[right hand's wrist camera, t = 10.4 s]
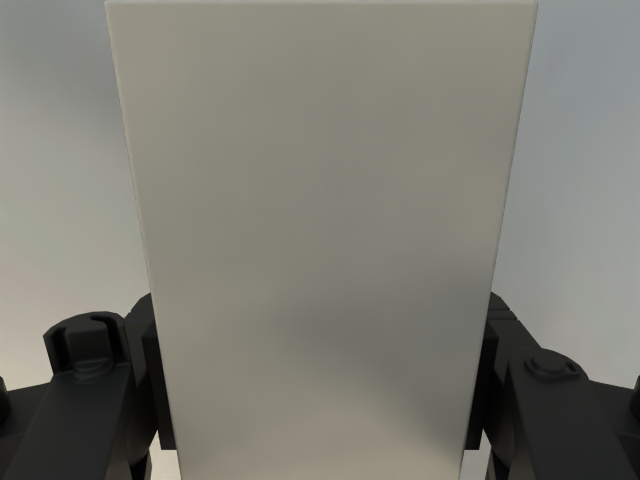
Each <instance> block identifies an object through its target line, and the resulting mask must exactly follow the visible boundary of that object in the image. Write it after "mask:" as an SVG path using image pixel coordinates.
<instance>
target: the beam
mask: <svg viewBox="0 0 640 480" xmlns="http://www.w3.org/2000/svg"><path fill="white" fill-rule="evenodd" d="M104 8H105V14H106V20H107V26H108V32H109V38H110V44H111V51H112V57H113V63H114V69H115V75H116V81H117V87H118V94H119V100H120V106H121V112H122V118H123V124H124V130H125V137H126V143H127V149H128V155H129V161H130V167H131V173H132V179H133V186H134V192H135V198H136V204H137V210H138V216H139V222H140V229H141V235H142V241H143V247H144V253H145V259H146V265H147V272H148V278H149V284H150V290H151V296H152V302H153V308H154V315H155V321H156V327H157V333H158V339H159V345H160V351H161V358H162V364H163V370H164V376H165V382H166V388H167V394H168V400H169V407H170V413H171V419H172V425H173V431H174V437H175V443H176V450H177V456H178V462H179V468H180V474H181V480H459V479H460V473H461V467H462V461H463V455H464V449H465V443H466V437H467V430H468V424H469V418H470V412H471V406H472V400H473V394H474V388H475V382H476V376H477V370H478V364H479V358H480V352H481V346H482V340H483V334H484V328H485V322H486V316H487V310H488V304H489V298H490V292H491V286H492V280H493V274H494V268H495V262H496V256H497V250H498V244H499V238H500V232H501V226H502V220H503V214H504V208H505V202H506V196H507V190H508V184H509V178H510V172H511V166H512V160H513V154H514V148H515V142H516V136H517V130H518V124H519V118H520V112H521V106H522V100H523V94H524V88H525V82H526V76H527V70H528V64H529V58H530V52H531V46H532V40H533V34H534V28H535V22H536V16H537V10H538V2H537V1H536V0H105V3H104Z"/></svg>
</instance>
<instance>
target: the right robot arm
mask: <svg viewBox="0 0 640 480" xmlns="http://www.w3.org/2000/svg"><path fill="white" fill-rule="evenodd" d="M43 338H44V342H45V346H46V349H47V353H48V356H49V360H50V364H51V367H52V371H53V374H54V375H53V377H52V379H51V381H50V382H49V383H45V384H41V385H36V386H31V387H26V388H21V389H16V390H11V391H7V389H6V386H5V383H4V380H3V378H2V377H1V376H0V480H150V479H151V470H152V463H151V456H150V451H149V447H150V445H151V443H152V440H153V438H154V436H155V434H156V432H157V429H158V435H159V440H160V446H161V450H176V443H175V437H174V431H173V425H172V419H171V413H170V407H169V400H168V394H167V388H166V382H165V376H164V370H163V364H162V358H161V351H160V345H159V339H158V333H157V327H156V321H155V315H154V308H153V302H152V296H151V292H150V293H149V294H147V295H145V296H144V297H142V298H141V299H139V301H138V302H137V303H136V304H135V306H134V307H133V308H132V309H131V312H129V313H128V314H127V316H126V317H125V318H123V317H121V316H120V315H119V314H117V313H112V312H107V311H102V312H89V313H84V314H80V315H76V316H73V317H71V318H68V319H65V320H63V321H61V322H59V323H58V324H56V325H54V326H53V327H51V328H50V329H49V330H48V331H47V332H46V333H45V334H44V335H43ZM483 429H484V431H485V433H486V435H487V438H488V440H489V442H490V444H491V451H490V456H489V461H488V467H487V472H486V477H485V480H640V375H639V376H638V379H637V382H636V385H635V388H634V389H629V388H624V387H619V386H614V385H609V384H604V383H599V382H595V381H591V380H589V378H588V376H587V374H586V373H585V372H584V370H583V369H582V368H581V367H580V365H578V364H577V363H576V362H574V361H573V360H571V359H570V358H568V357H567V356H564V355H562V354H560V353H557V352H555V351H552V350H548V349H543V348H541V347H540V346H539V344H538V343H537V342H536V341H535V339H534V338H533V337H532V336H531V334H530V333H529V332H528V331H527V330H526V328H525V327H524V326H523V325H522V323H521V322H520V321H519V320H517V317H516V316H515V315H514V313H513V312H512V311H510V308H509V307H508V306H507V305H506V303H505V302H504V301H503V300H502V299H501V297H499V296H497V295H496V294H494V293H493V292H490V298H489V304H488V310H487V316H486V322H485V328H484V334H483V340H482V346H481V352H480V358H479V364H478V370H477V376H476V382H475V388H474V394H473V400H472V406H471V412H470V418H469V424H468V430H467V437H466V443H465V449H464V450H479V447H480V442H481V436H482V431H483Z"/></svg>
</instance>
